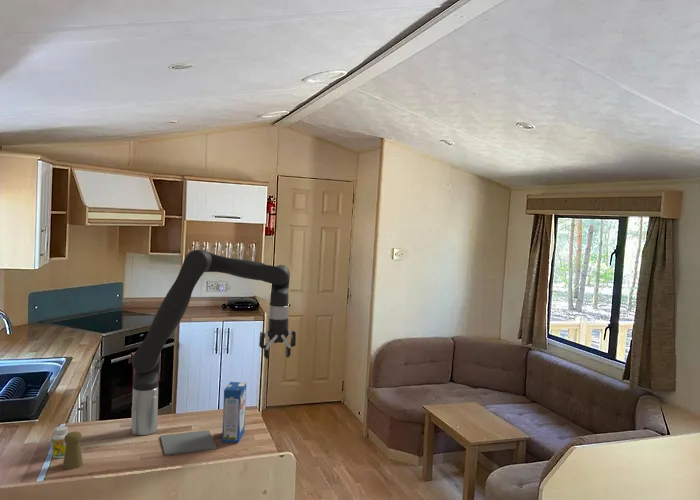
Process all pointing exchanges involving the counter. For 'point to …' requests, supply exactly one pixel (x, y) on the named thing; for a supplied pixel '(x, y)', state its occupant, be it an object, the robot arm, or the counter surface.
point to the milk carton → (234, 412)
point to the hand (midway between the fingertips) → (277, 357)
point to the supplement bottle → (59, 442)
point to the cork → (73, 451)
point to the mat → (187, 442)
